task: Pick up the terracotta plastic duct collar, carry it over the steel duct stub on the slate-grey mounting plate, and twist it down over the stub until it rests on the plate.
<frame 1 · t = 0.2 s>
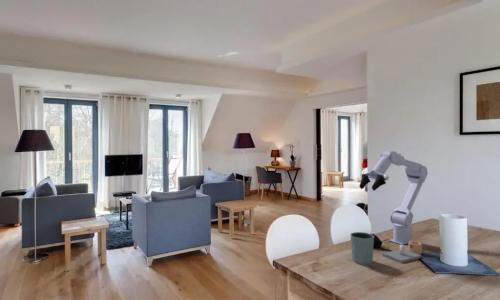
hand: (366, 188, 157), 31 cm above the table, tool tilted 45°, fingers open, 7 cm apart
duct plate: (401, 256, 150), on the table
light bulb: (376, 248, 163), on the table
green cup: (361, 261, 145), on the table
collar: (414, 252, 156), on the table
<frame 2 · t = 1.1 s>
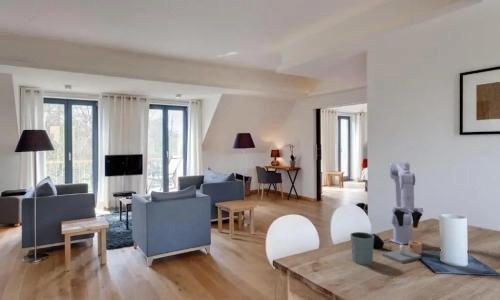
hand: (407, 226, 152), 14 cm above the table, tool pointing down, fingers open, 7 cm apart
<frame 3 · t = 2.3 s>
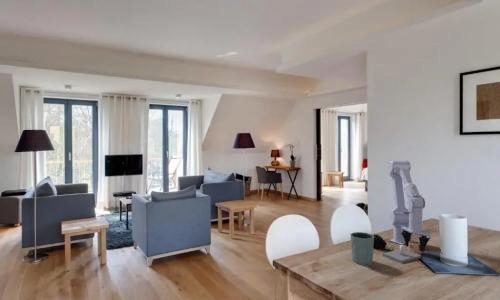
hand: (415, 248, 156), 2 cm above the table, tool pointing down, fingers open, 7 cm apart
light bulb: (380, 249, 161), on the table
everything else where it was.
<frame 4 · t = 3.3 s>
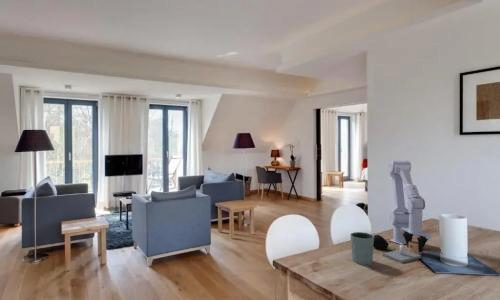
hand: (414, 249, 156), 1 cm above the table, tool pointing down, fingers closed on collar, 5 cm apart
light bulb: (382, 249, 161), on the table
collar: (414, 252, 156), on the table, touching gripper
everything else where it was.
when the fingers open (3 cm above the table, at t = 7.6 s): collar stays where it is, resting on duct plate.
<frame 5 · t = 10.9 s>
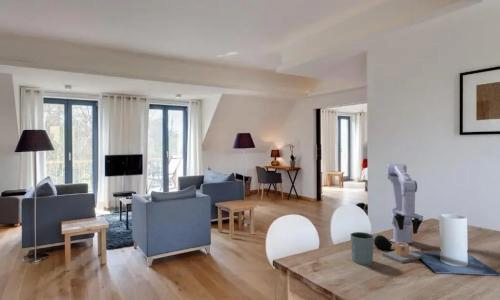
hand: (407, 231, 159), 9 cm above the table, tool pointing down, fingers open, 7 cm apart
light bulb: (385, 250, 160), on the table
collar: (401, 254, 150), point 1 cm above the table, touching duct plate
everything else where it was.
at the end: collar 0.0 cm from the duct plate (horizontally); collar point 1.2 cm above the table; collar tilted 0° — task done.
